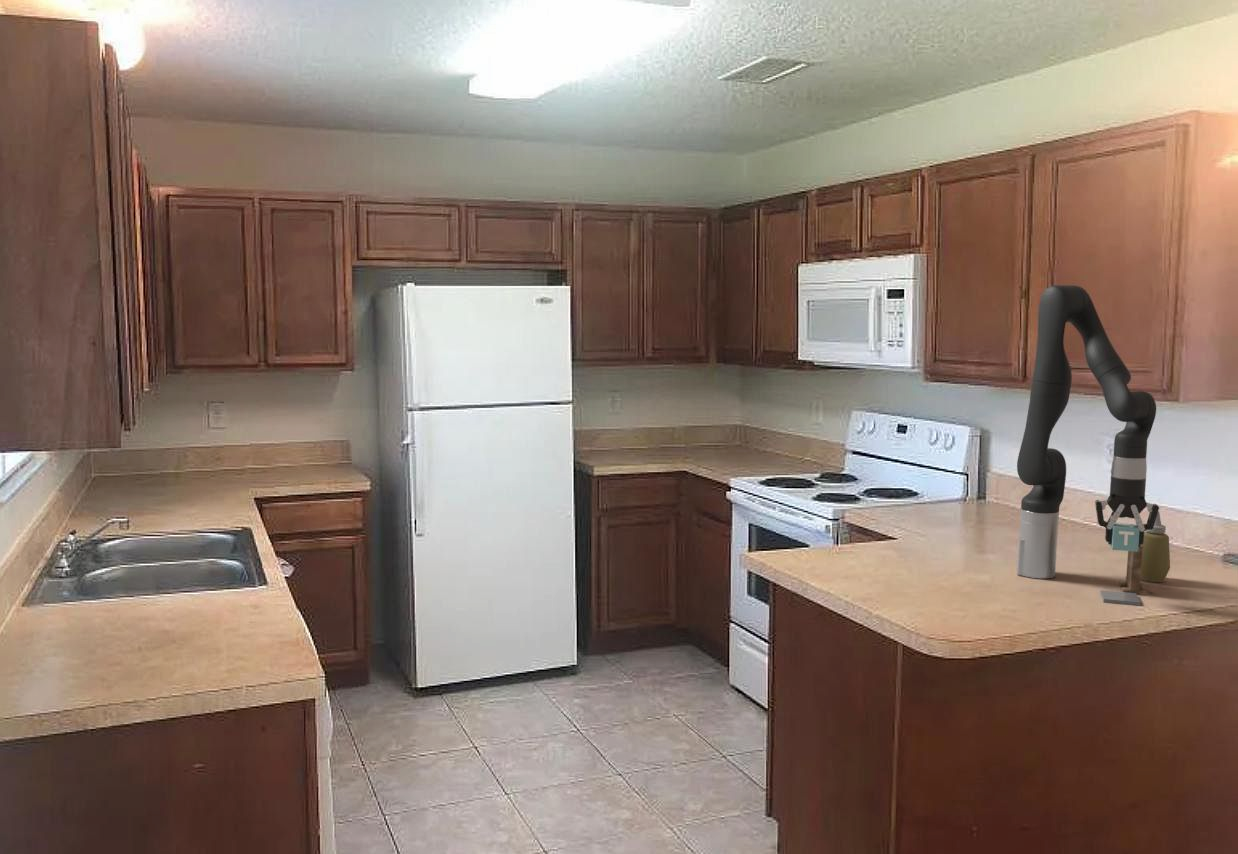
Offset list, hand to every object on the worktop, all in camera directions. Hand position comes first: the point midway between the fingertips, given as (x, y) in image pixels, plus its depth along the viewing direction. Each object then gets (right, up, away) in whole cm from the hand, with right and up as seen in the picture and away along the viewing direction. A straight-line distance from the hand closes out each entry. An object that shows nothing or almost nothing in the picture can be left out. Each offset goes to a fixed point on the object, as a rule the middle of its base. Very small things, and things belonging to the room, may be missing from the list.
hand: (1123, 544), depth 248 cm
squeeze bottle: (+16, -11, +19) cm, 28 cm away
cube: (0, -1, 0) cm, 1 cm away
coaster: (0, -13, +2) cm, 13 cm away
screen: (+7, -12, +10) cm, 17 cm away
